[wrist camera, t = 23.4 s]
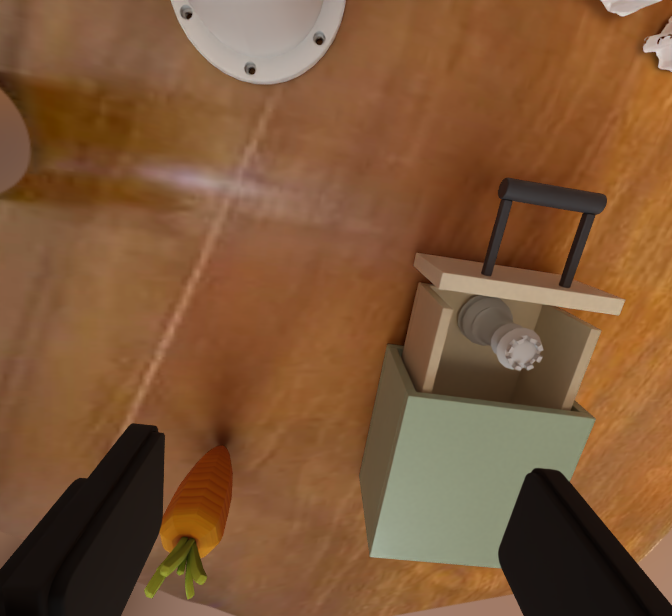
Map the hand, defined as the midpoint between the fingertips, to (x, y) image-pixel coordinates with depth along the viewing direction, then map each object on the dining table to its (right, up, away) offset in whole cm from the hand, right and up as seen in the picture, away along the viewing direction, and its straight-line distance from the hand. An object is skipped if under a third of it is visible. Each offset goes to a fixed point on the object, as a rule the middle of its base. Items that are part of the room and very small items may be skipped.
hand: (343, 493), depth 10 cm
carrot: (-12, -10, +30) cm, 34 cm away
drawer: (+13, +5, +26) cm, 29 cm away
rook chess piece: (+13, +4, +25) cm, 28 cm away
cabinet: (+11, -7, +30) cm, 33 cm away
